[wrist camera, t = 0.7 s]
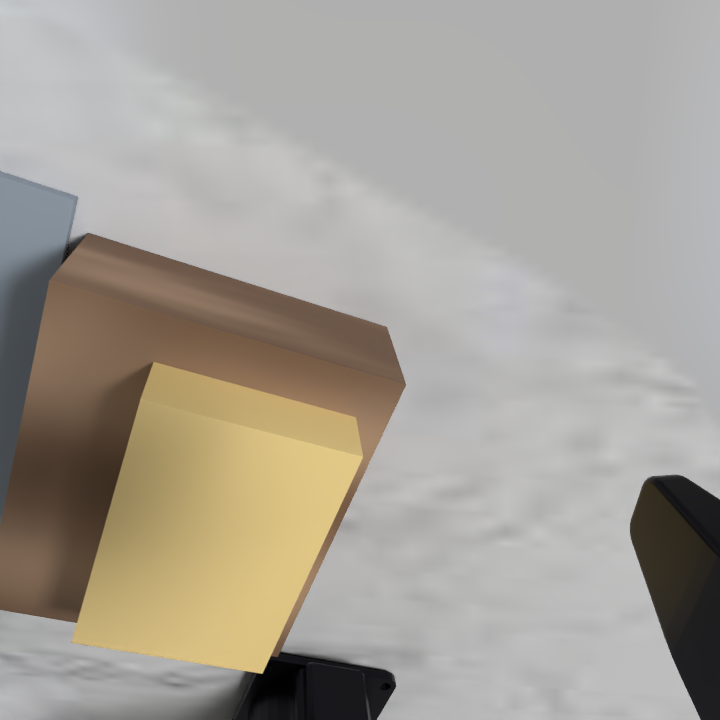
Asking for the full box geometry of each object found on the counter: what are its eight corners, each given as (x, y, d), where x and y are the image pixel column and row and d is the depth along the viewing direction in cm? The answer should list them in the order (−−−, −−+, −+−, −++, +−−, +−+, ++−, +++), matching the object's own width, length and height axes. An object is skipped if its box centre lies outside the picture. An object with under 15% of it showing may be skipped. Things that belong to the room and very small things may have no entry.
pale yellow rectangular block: (263, 624, 24) (262, 673, 22) (88, 591, 22) (71, 642, 20) (355, 417, 20) (362, 457, 18) (153, 361, 19) (140, 398, 17)
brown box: (277, 575, 28) (277, 657, 25) (24, 523, 26) (-16, 607, 22) (386, 326, 23) (406, 384, 20) (88, 232, 21) (49, 279, 17)
